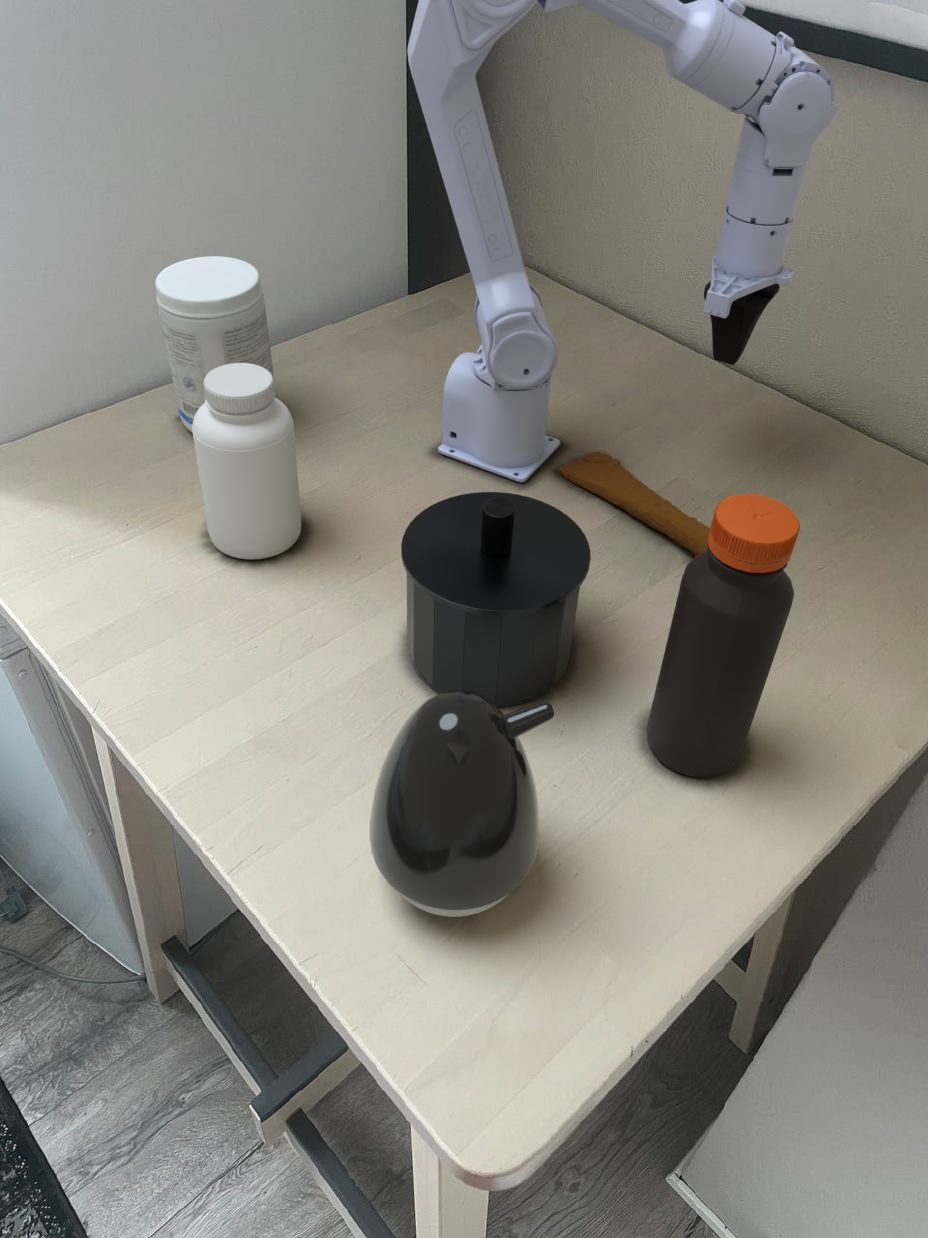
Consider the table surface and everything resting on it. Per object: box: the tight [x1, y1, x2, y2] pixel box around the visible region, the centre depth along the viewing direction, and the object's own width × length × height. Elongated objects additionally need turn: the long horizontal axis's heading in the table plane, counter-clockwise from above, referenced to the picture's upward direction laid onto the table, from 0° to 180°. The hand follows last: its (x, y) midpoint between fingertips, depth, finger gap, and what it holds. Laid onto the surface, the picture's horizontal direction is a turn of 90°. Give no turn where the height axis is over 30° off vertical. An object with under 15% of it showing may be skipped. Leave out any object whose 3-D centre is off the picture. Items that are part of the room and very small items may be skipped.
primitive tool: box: [558, 451, 711, 557], centre depth 92 cm, size 19×6×4 cm, turn 37°
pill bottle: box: [191, 363, 302, 560], centre depth 84 cm, size 8×8×15 cm
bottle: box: [645, 493, 801, 778], centre depth 66 cm, size 7×7×20 cm
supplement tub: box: [155, 255, 277, 434], centre depth 97 cm, size 10×10×15 cm
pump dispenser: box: [368, 690, 555, 918], centre depth 59 cm, size 10×10×15 cm
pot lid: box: [400, 491, 592, 616], centre depth 72 cm, size 13×13×5 cm
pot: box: [406, 573, 581, 708], centre depth 76 cm, size 12×12×10 cm
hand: (725, 359), depth 95 cm, fingers closed
